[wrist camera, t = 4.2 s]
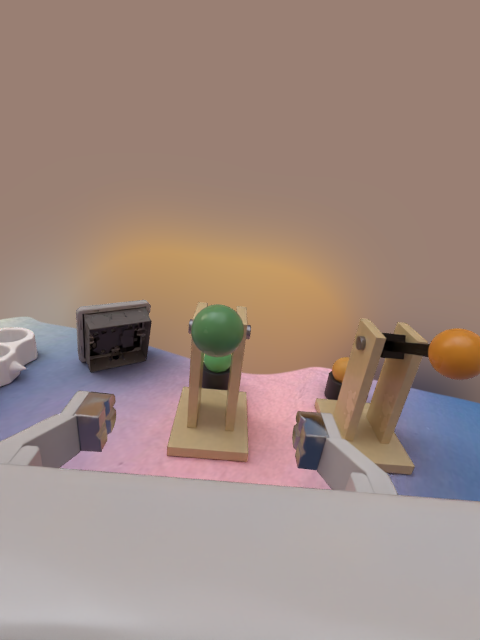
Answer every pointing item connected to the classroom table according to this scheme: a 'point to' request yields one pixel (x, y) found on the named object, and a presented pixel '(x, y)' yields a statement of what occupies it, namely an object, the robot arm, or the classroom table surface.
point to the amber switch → (441, 352)
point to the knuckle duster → (15, 352)
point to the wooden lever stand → (212, 410)
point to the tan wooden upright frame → (375, 398)
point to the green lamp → (216, 372)
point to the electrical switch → (113, 334)
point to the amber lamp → (336, 379)
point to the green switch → (217, 330)
